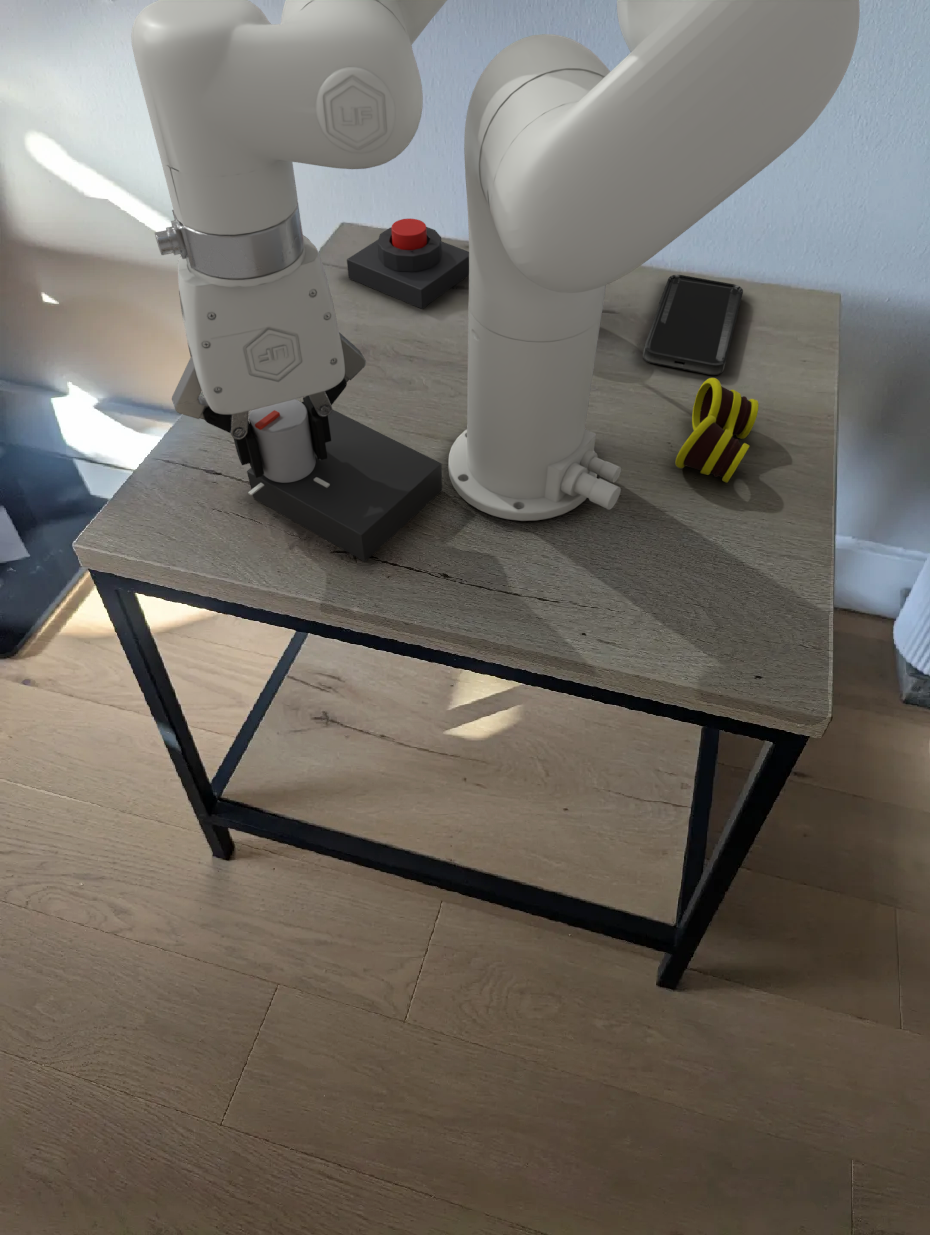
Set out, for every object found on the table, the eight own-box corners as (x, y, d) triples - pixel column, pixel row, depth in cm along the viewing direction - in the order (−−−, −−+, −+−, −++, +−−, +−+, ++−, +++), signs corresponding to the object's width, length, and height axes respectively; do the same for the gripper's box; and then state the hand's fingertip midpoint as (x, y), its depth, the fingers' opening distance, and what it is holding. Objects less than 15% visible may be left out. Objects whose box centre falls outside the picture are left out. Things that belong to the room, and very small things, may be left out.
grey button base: (473, 272, 94) (473, 236, 91) (422, 309, 89) (420, 273, 86) (400, 244, 97) (398, 209, 94) (348, 278, 93) (344, 242, 90)
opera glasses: (725, 499, 73) (752, 457, 69) (666, 475, 73) (690, 432, 69) (742, 430, 79) (768, 387, 75) (688, 408, 79) (711, 364, 75)
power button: (433, 241, 91) (433, 225, 89) (412, 255, 89) (411, 239, 88) (406, 231, 92) (405, 214, 91) (385, 245, 90) (384, 228, 89)
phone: (744, 286, 90) (724, 367, 81) (741, 296, 91) (721, 377, 82) (669, 272, 92) (641, 350, 83) (667, 282, 92) (639, 361, 83)
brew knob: (286, 439, 71) (276, 385, 67) (327, 460, 70) (318, 406, 66) (248, 468, 69) (235, 414, 65) (289, 490, 68) (278, 437, 63)
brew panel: (442, 490, 72) (441, 461, 70) (349, 576, 66) (345, 547, 64) (316, 426, 77) (311, 397, 75) (219, 500, 71) (210, 471, 69)
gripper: (117, 293, 50) (192, 518, 65) (388, 236, 55) (402, 458, 69) (95, 234, 55) (170, 457, 69) (349, 185, 59) (370, 404, 73)
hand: (286, 455), depth 69 cm, fingers closed on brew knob, 4 cm apart
